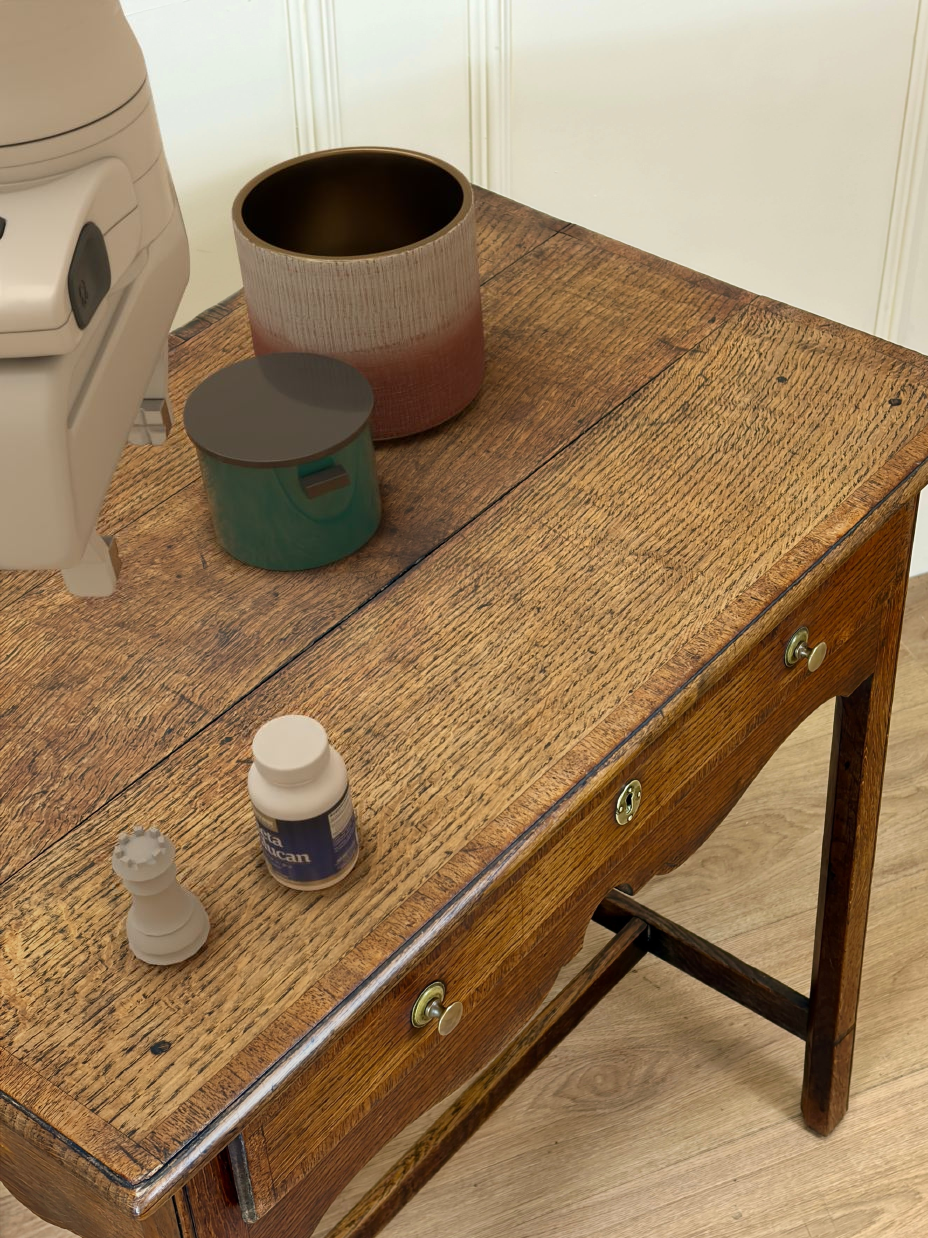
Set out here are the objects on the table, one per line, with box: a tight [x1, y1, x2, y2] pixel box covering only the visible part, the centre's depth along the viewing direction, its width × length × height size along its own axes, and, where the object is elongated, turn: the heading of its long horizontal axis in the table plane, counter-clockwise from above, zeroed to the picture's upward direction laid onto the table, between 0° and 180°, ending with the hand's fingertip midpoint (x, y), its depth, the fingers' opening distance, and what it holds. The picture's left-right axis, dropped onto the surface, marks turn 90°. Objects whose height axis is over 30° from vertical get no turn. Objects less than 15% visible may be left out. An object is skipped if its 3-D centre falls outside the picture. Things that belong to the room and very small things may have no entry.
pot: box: [182, 352, 383, 572], centre depth 103 cm, size 13×15×10 cm
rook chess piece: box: [110, 824, 211, 966], centre depth 78 cm, size 4×4×8 cm
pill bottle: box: [247, 714, 360, 892], centre depth 81 cm, size 5×5×10 cm
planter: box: [230, 145, 486, 443], centre depth 112 cm, size 18×18×16 cm
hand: (126, 506), depth 59 cm, fingers open, 8 cm apart
